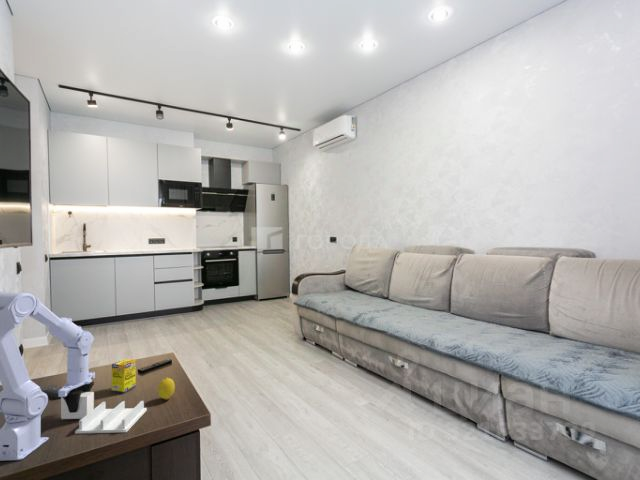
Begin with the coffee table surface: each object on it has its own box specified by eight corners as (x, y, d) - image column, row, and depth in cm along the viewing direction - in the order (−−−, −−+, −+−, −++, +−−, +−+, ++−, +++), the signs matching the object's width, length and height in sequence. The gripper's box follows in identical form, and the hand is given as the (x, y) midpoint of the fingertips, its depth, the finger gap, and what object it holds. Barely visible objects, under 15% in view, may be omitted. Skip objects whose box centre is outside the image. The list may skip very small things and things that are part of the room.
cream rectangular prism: (86, 418, 106) (86, 396, 106) (61, 419, 106) (61, 397, 106) (93, 412, 109) (93, 391, 110) (68, 413, 109) (69, 392, 109)
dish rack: (126, 432, 99) (126, 420, 99) (75, 433, 98) (75, 421, 98) (146, 410, 112) (146, 400, 112) (101, 411, 111) (101, 401, 111)
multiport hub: (58, 400, 120) (58, 394, 120) (38, 396, 123) (38, 389, 123) (71, 395, 124) (71, 389, 124) (51, 391, 127) (51, 385, 127)
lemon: (154, 401, 119) (154, 378, 119) (168, 394, 123) (168, 373, 124) (164, 404, 116) (164, 381, 116) (178, 398, 121) (178, 376, 121)
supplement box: (124, 393, 124) (124, 365, 124) (110, 392, 125) (111, 363, 125) (136, 387, 130) (136, 359, 130) (123, 385, 131) (123, 358, 131)
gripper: (75, 375, 101) (74, 420, 100) (104, 359, 115) (103, 398, 115) (51, 376, 100) (51, 421, 100) (83, 359, 115) (82, 398, 115)
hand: (77, 408), depth 108 cm, fingers closed on cream rectangular prism, 3 cm apart
